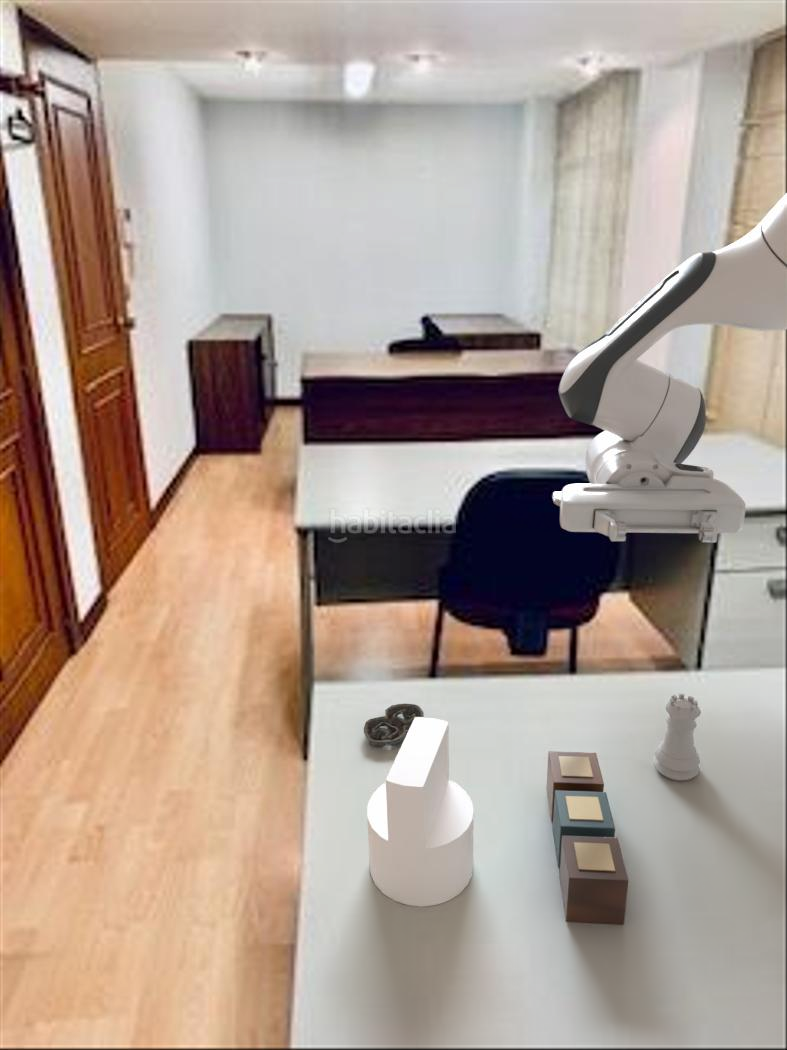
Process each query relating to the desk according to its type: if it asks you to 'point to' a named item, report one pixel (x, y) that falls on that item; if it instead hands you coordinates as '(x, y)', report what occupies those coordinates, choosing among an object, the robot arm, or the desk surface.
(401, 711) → the corroded twin loop
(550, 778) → the block
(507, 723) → the desk surface
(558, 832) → the block middle
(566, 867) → the block
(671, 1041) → the desk surface
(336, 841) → the desk surface
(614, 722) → the desk surface
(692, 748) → the rook chess piece
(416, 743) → the cylinder with rectangular tab
